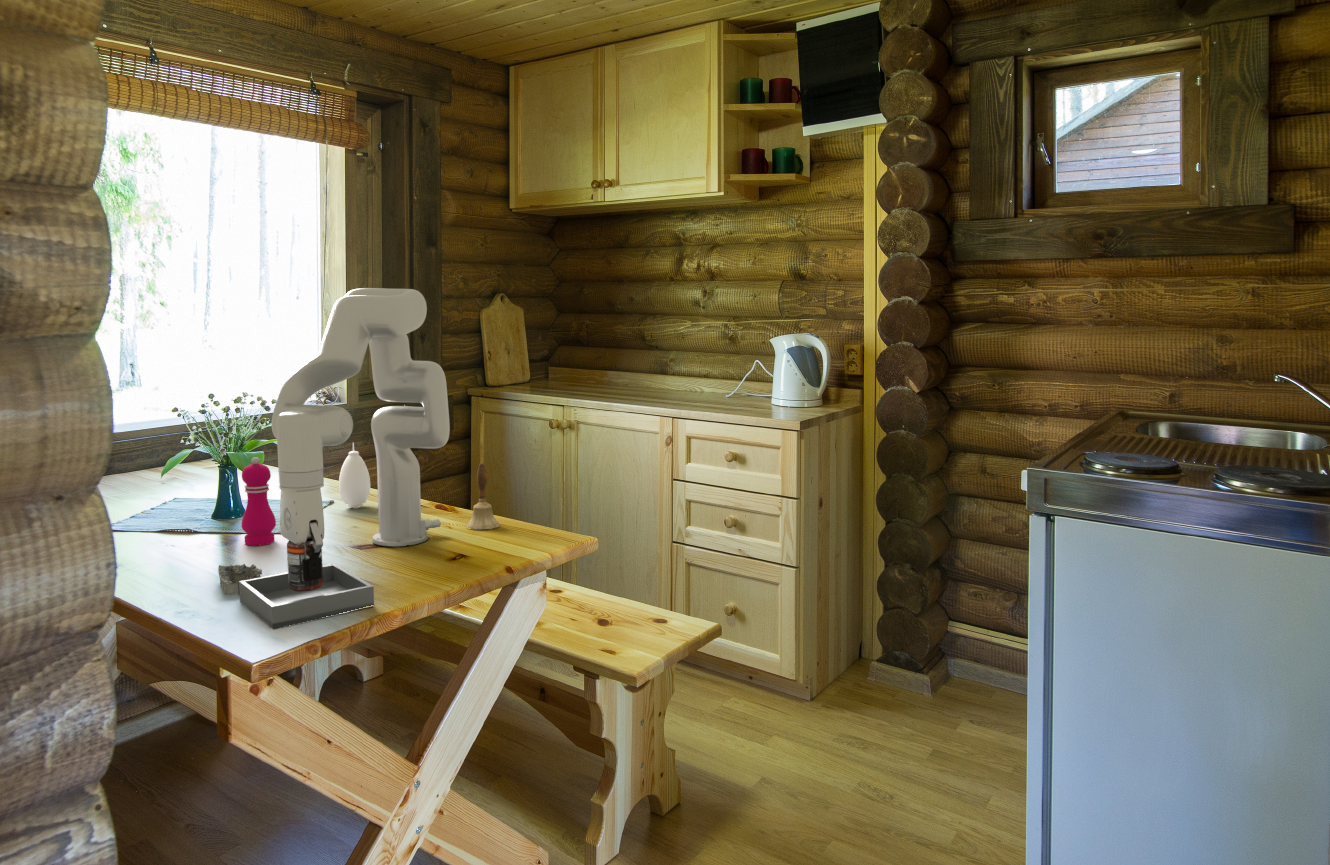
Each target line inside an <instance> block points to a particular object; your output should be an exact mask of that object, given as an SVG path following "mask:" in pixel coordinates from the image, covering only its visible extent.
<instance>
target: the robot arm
mask: <svg viewBox="0 0 1330 865" xmlns="http://www.w3.org/2000/svg"><path fill="white" fill-rule="evenodd" d="M427 310H428V307H427V300H426V299H425V297H424V294H422V293H421V292H420V291H419V290H416V289H413V288H383V287H381V288H380V287H379V288H378V287H363V288H355V289H351V290H349V291H347V293H346V294H345V295H344V296H343V297H340V298H339V299H337V300H336V301H335V303H334V304H333V307H332V309H331V313H330V315H329V318H328V321H327V324H326V328H325V331H324V333H323V337H322V339H321V342H320V346H319V349H318V352H317V354H316V355H315V356H314V357H313V358H311V359H310V360H308V361H307V362H306V363H305V364H303V365H302V366H301V367H300V368H298V369H297V370H296V371H295V372H293V374H292V375H290V377H289V378H288V379H287V380H286V381H285V382H284V384H283V385H282V387H281V389H280V390H279V394H278V396H277V399H276V403H275V406H274V409H273V413H272V416H271V431H272V434H273V436H274V438H275V439H276V441H277V445H276V446H277V465H278V467H277V468H278V488H279V490H280V500H279V501H280V503H279V509H280V512H279V518H280V519H279V520H280V523H279V524H280V525H279V528H280V529H279V530H280V535H281V536H282V537H283V538H284V539H286V540H288V541H291V542H293V543H294V544H296V545H301V544H302V548H303V553H304V558H305V559H302V564H303V580H305V581H309V580H315V579H320V578H321V577H322V566H321V557H322V558H323V553H322V554H321V550H323V546H324V539H325V519H324V518H325V516H324V507H323V496H322V491H321V490H322V488H323V487H325V481H324V480H325V478H324V477H325V476H324V457H323V456H324V453H323V452H324V451H323V447H330V446H331V447H333V446H334V447H335V446H339V445H342V444H343V443H345V442H346V441H348V439H349V438H350V437H351V434H352V433H353V430H354V420H353V417H352V415H351V414H350V412H349V411H348V410H346V409H345V408H344V407H341V406H338V405H337V406H335V405H322V404H321V405H319V404H305V403H306V402H307V401H308V399H309V398H310V397H311V396H313V395H315V394H316V393H317V392H319V391H321V390H323V389H325V388H329V387H330V386H333V385H335V384H338V383H341V382H343V381H346V380H349V379H350V378H352V377H354V376H356V375H357V374H359V373H360V371H361V370H362V366H363V363H364V360H365V357H366V353H367V350H368V346H369V352H370V360H371V362H370V363H371V369H372V370H371V372H372V380H373V381H372V382H373V387H374V392H375V394H376V396H377V397H378V399H379V400H381V401H385V402H390V403H391V402H392V403H413V404H414V403H417V404H419V403H420V404H421V405H422V406H412V405H411V406H410V405H409V406H407V405H406V406H405V405H395V406H394V405H390V406H384V407H381V408H379V409H377V410H376V411H375V412H374V414H373V415H372V417H371V422H370V427H371V428H370V429H371V434H372V439H373V443H374V449H375V456H376V458H375V459H376V472H377V475H376V477H377V506H378V513H377V514H378V532H377V533H376V532H375V534H373V535H372V540H371V541H372V543H373V544H375V545H377V546H382V547H408V546H407V545H409V546H414V545H418V544H422V543H424V542H426V541H428V540H429V532H427V531H429V529H436V528H440V527H441V520H440V519H439V518H437V519H430V518H428V519H424V518H422V509H421V508H422V506H421V504H422V503H421V469H420V468H421V467H420V463H419V460H418V459H417V457H416V455H415V454H414V453H413V451H412V449H439V448H440V449H441V448H442V447H444V446H445V445H446V444H447V443H448V441H449V439H450V430H451V429H450V428H451V427H450V426H451V425H450V413H449V400H448V388H447V386H448V385H447V379H446V374H445V372H444V370H443V368H442V367H441V365H440V364H439V363H437V362H434V361H432V360H414V359H412V357H411V350H410V341H409V337H408V335H407V334H410V333H411V332H414V331H416V330H417V329H419V328H420V327H421V326H422V325H423V324H424V322H425V321H426V316H427ZM310 538H312V540H313V541H309V542H306V540H307V539H310ZM309 545H313V546H312V547H310V549H309V551H308V546H309ZM321 548H322V549H321Z"/></svg>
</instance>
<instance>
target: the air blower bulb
mask: <svg viewBox="0 0 1330 865" xmlns="http://www.w3.org/2000/svg"><path fill="white" fill-rule="evenodd" d="M347 454H348V455H347V457H346V458H345V459H344V461H343V462H342V463H343V464H342V465H341V469H340V472H339V478H338V491H339V494H340V497H341V500H342V501H343V503H344V504H345V505H348V507H350V508H352V509H359V508H360V507H362V506H363V504H366V502H367V501H368V499H369V496H370V493H371V478H370V473H369V470H368V467H367V465H366V463H365V461H364V459H363V458H362V456H361V455H360V452H359V451H357V450H355V443H354V441H353V442H352V450H351V451H349V452H348V453H347Z"/></svg>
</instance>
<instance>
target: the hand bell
mask: <svg viewBox="0 0 1330 865" xmlns="http://www.w3.org/2000/svg"><path fill="white" fill-rule="evenodd" d="M487 482H488V472H487V467H486V464H485V463H484V462H483V463H482V462H481V463H479V464H478V469H477V473H476V483H477V486H478V502H477V503H476V504H474V505H473V507H472V509H473V510H472V515H471V518H470V520H469V521H468V522H467V524H466V525H465V527H468V528H471V529H470V530H472V529H489V530H494V529H497V528H500V525H501V524H500V522H498V521H497V520H496V518H495V516H494V513H493V508H492V506H493V505H491V504H490V503H488V502H487V496H486V487H487ZM468 528H467V529H468ZM493 528H494V529H493Z"/></svg>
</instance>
